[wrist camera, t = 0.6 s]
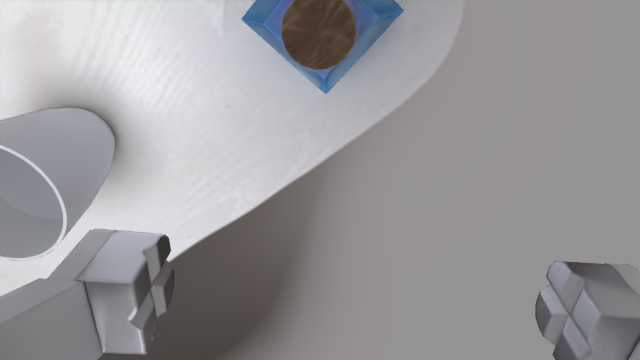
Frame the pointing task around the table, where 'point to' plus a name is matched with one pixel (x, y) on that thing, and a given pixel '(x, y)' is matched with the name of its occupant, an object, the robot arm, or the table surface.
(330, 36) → the perfume bottle
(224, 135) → the table surface
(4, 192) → the cup
